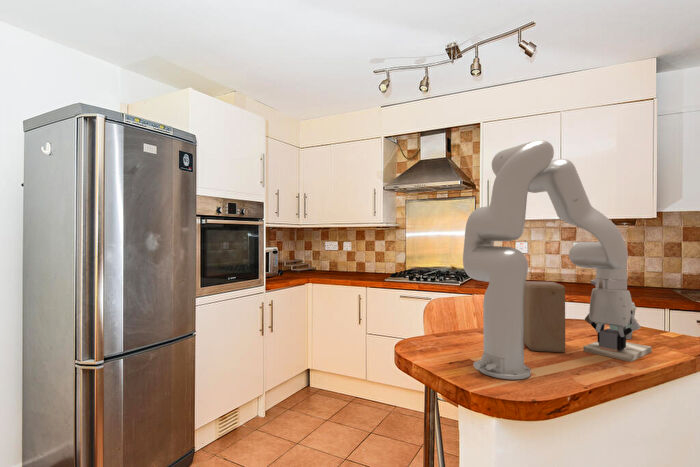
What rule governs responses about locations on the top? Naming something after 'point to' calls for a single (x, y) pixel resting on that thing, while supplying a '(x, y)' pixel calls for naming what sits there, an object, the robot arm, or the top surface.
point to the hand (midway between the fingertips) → (611, 347)
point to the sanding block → (608, 339)
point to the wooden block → (544, 316)
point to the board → (627, 354)
